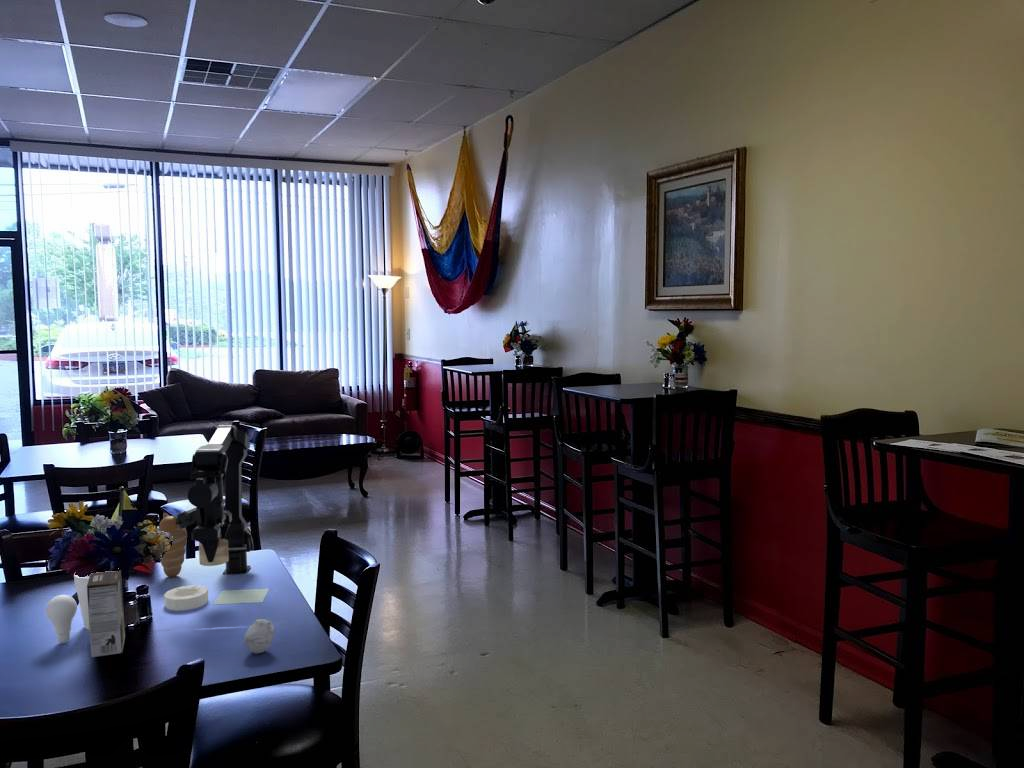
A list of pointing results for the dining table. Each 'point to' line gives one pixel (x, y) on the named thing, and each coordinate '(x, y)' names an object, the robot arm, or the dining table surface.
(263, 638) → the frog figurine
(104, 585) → the coffee box
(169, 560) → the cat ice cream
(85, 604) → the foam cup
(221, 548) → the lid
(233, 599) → the mat
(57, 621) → the lightbulb
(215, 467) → the robot arm
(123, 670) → the dining table surface
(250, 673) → the dining table surface
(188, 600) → the bowl
